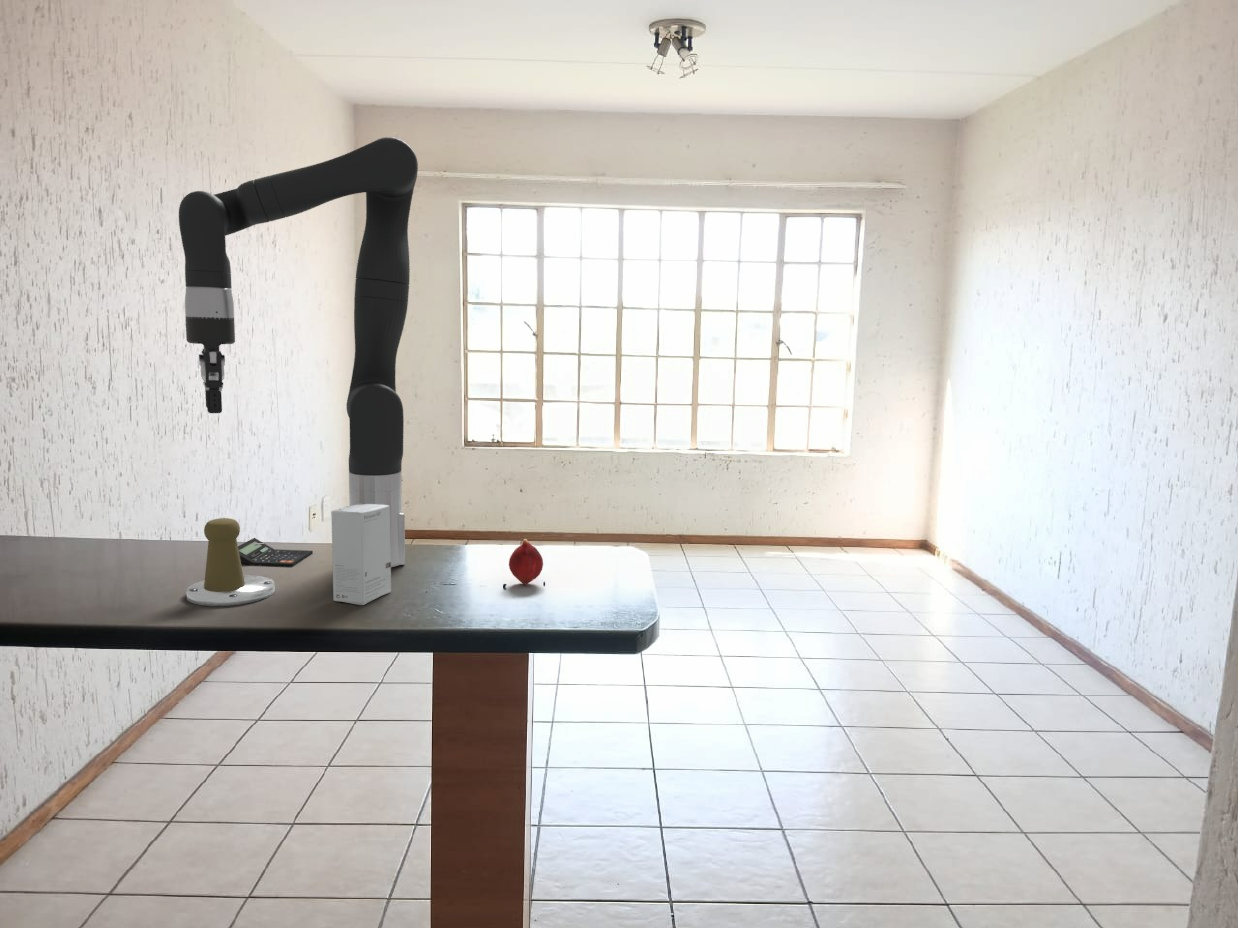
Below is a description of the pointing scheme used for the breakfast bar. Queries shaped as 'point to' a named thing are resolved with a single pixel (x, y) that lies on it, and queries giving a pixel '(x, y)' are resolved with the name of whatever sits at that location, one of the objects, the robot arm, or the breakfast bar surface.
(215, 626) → the breakfast bar surface
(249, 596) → the flange
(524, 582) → the onion
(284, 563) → the calculator
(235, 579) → the cork
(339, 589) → the skincare box
